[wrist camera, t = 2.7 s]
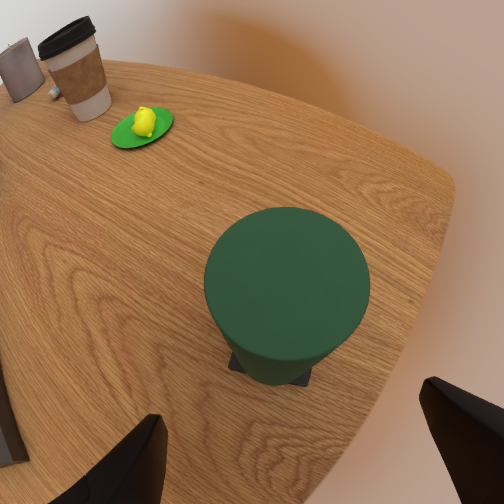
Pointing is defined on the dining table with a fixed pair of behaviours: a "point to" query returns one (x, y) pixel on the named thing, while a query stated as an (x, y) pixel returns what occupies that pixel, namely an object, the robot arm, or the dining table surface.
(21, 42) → the pillar candle
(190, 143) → the dining table surface
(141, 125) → the green flat round tray
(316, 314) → the green cylinder on block
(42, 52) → the coffee cup
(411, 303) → the dining table surface
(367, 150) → the dining table surface
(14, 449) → the shoe shelf
